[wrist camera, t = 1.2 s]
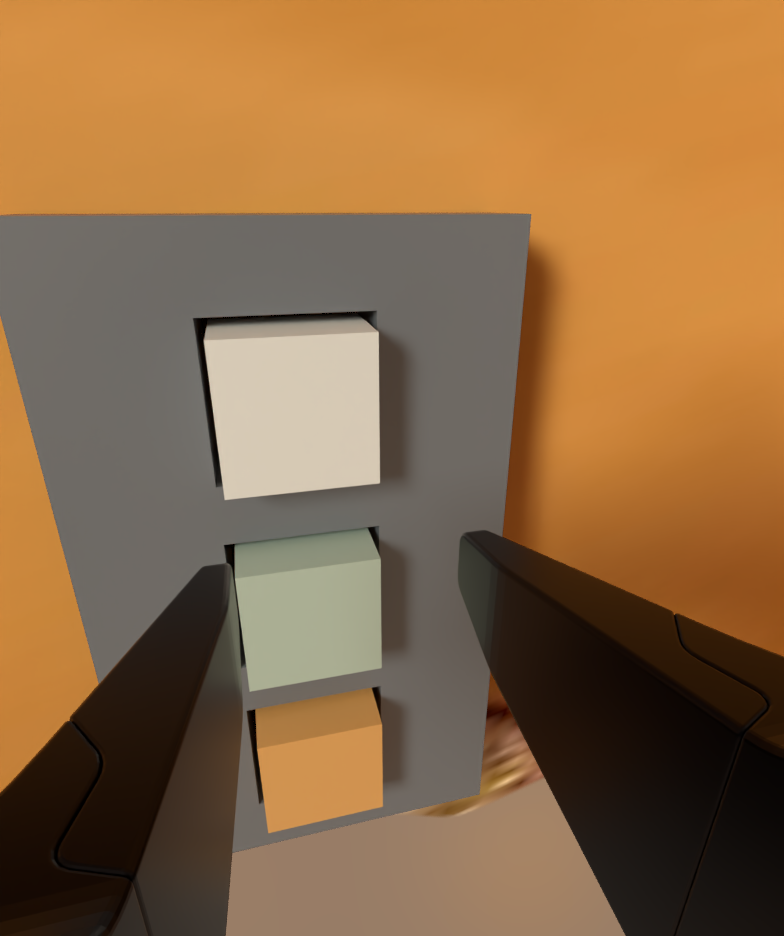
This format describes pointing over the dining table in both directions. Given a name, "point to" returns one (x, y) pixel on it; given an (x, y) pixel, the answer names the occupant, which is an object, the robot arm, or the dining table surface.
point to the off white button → (294, 402)
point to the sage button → (309, 606)
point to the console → (291, 514)
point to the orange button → (320, 758)
